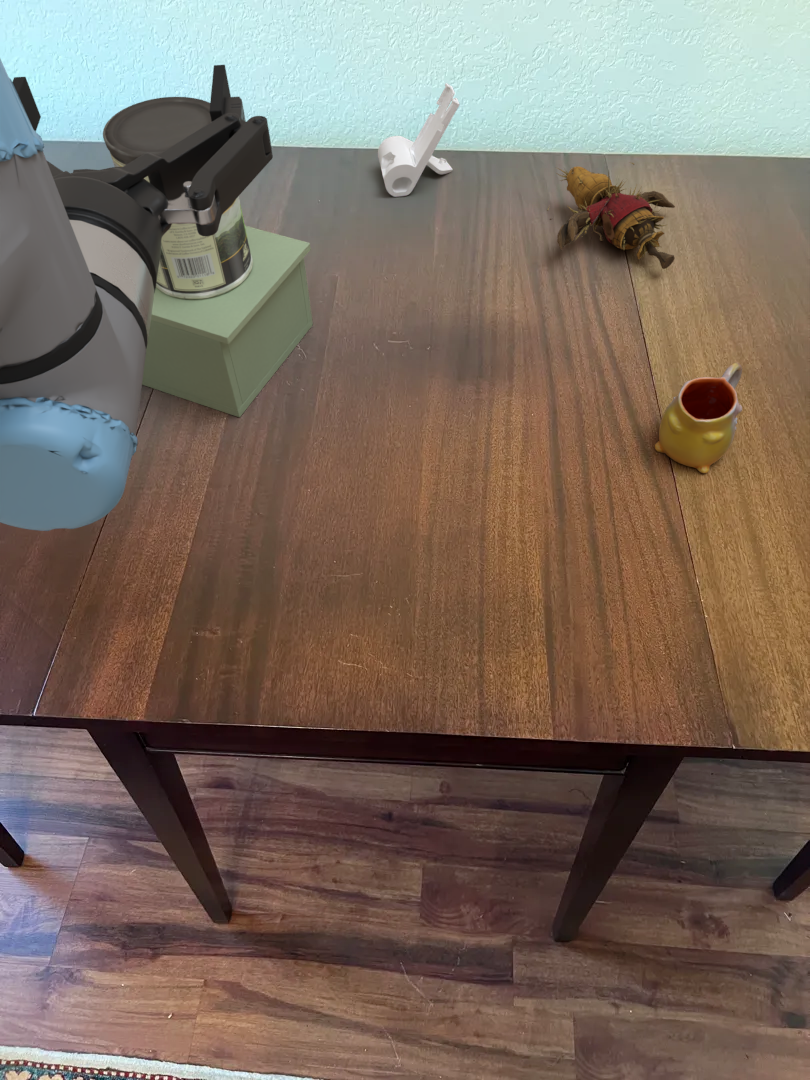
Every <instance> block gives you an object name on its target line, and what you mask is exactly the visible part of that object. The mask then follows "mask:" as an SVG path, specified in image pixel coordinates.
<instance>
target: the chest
mask: <svg viewBox="0 0 810 1080" xmlns="http://www.w3.org/2000/svg"><path fill="white" fill-rule="evenodd" d="M309 292H310V291H309V285H308V278H307V270H306V265H305V257H304V258H303V259H302V260H301V261H300V263H299V264H298V265H297V266H296V267H295V268H294V270H293V271H292V272H291V273H290V274H289V275H288V277H287V278H286V279H285V280H284V281H283V282H282V283H281V285H280V286H279V287H278V288H277V289H276V290H275V292H274V293H273V294H272V295H271V296H270V297H269V298H268V300H267V301H266V302H265V303H264V304H263V305H262V307H261V308H260V309H259V310H258V311H257V312H256V313H255V315H254V316H253V317H252V318H251V319H250V320H249V322H248V323H247V324H246V325H245V326H244V327H243V328H242V330H241V331H240V332H239V333H238V334H237V335H236V337H235V338H234V339H233V340H232V341H231V342H230V343H229V344H226V343H223V342H220V341H217V340H213V339H210V338H207V337H204V336H201V335H198V334H194V333H191V332H188V331H185V330H182V329H178V328H175V327H172V326H169V325H166V324H162V323H159V322H156V321H153V320H151V323H150V330H149V337H148V344H147V348H146V357H145V365H144V373H143V381H142V386H145V387H147V388H151V389H154V390H156V391H160V392H163V393H166V394H168V395H171V396H174V397H177V398H180V399H183V400H186V401H189V402H192V403H195V404H198V405H201V406H205V407H208V408H211V409H213V410H215V411H219V412H222V413H224V414H227V415H231V416H234V417H237V418H241V417H242V415H243V414H244V413H245V412H246V411H247V409H248V408H249V407H250V406H251V404H252V403H253V401H254V400H255V399H256V398H257V396H258V395H259V394H260V393H261V391H262V390H263V389H264V388H265V386H266V385H267V384H268V382H269V381H270V380H271V379H272V377H273V376H274V375H275V374H276V372H277V371H278V370H279V369H280V367H281V366H282V365H283V364H284V362H285V361H286V360H287V359H288V357H289V356H290V354H291V353H292V352H293V351H294V350H295V349H296V347H297V346H298V345H299V343H300V342H301V341H302V339H303V338H304V337H305V336H306V335H307V333H308V332H309V331H310V330H311V328H312V327H313V325H314V323H313V315H312V308H311V307H312V306H311V300H310V293H309Z"/></svg>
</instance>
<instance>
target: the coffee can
mask: <svg viewBox="0 0 810 1080" xmlns="http://www.w3.org/2000/svg"><path fill="white" fill-rule="evenodd" d="M211 122H212V121H211V116H210V101H207V100H204V99H200V98H195V97H189V96H165V97H156V98H151V99H147V100H143V101H141V102H140V101H139V102H137V103H134V104H132V105H129V106H127V107H125V108H123V109H121V110H120V111H118V112H117V113H115V114H114V115H113V116H111V117H110V118H109V119H108V121H107V122H106V123H105V125H104V127H103V131H102V137H103V138H102V139H103V141H104V144H105V146H106V148H107V150H108V152H109V154H110V157H111V160H112V163H113V167H123V166H125V165H127V164H128V163H130V162H132V161H133V160H135V159H136V158H138V157H140V156H141V155H143V154H145V153H151V154H153V155H156V156H157V155H159V154H160V153H162V152H164V151H165V150H167V149H168V148H170V147H172V146H173V145H175V144H177V143H178V142H180V141H181V140H183V139H185V138H186V137H188V136H190V135H191V134H193V133H194V132H196V131H198V130H199V129H201V128H203V127H204V126H206V125H207V124H209V123H211ZM144 179H145V180H146V181H148V182H149V183H150V181H149V178H148V176H147V177H145V178H144ZM245 226H246V224H245V219H244V216H243V210H242V206H241V200H240V195H239V196H238V197H237V198H236V200H235V201H234V202H233V203H232V204H231V205H230V206H229V207H228V208H227V210H226V211H225V212H224V213H223V214H222V216H221V220H220V224H219V228H218V231H217V233H215V234H214V235H211V236H201V235H199V233H198V231H197V227H196V224H172V225H171V227H170V229H169V230H168V231H167V232H166V233H165V234H164V235H163V236H162V239H161V254H160V261H159V268H158V276H157V283H156V288H158V289H159V290H160V291H162V292H164V293H165V294H167V295H169V296H173V297H176V298H181V299H205V298H210V297H214V296H218V295H221V294H224V293H226V292H228V291H230V290H232V289H234V288H236V287H237V286H238V285H240V284H241V283H242V282H243V281H244V280H245V279H246V278H247V277H248V275H249V274H250V272H251V270H252V266H253V258H252V255H251V253H250V248H249V243H248V238H247V234H246V229H245Z"/></svg>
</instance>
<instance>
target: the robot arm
mask: <svg viewBox="0 0 810 1080" xmlns="http://www.w3.org/2000/svg"><path fill="white" fill-rule="evenodd" d="M226 68H227V67H226V64H214V65H213V71H212V81H211V90H210V91H211V92H210V101H209V103H210V116H211V121H212V122H211V123H209V124H207V125H206V126H204V127H203V128H201V129H199V130H198V131H196V132H194V133H193V134H191V135H190V136H188V137H186V138H185V139H183V140H181V141H180V142H178V143H177V144H175V145H173V146H172V147H170V148H168V149H167V150H165V151H164V152H162V153H160V154H159V155H157V156H156V155H153V154H151V153H145V154H143V155H141V156H140V157H138V158H136V159H135V160H133V161H132V162H130V163H128V164H127V165H125V166H123V167H115V166H113V167H107V168H102V169H91V168H84V169H83V168H80V169H73V170H72V172H69V171H68V170H65V171H63V170H61V169H60V168H58V167H57V166H56V165H54V164H52V163H51V162H50V161H49V160H47V159H46V156H45V153H44V148H45V144H44V141H43V138H42V136H41V134H39V133H38V132H37V130H38V126H39V124H40V121H41V118H42V115H41V113H40V110H39V108H38V106H37V103H36V100H35V97H34V95H33V92H32V90H31V87H30V85H29V82H28V80H27V77H26V76H14V77H13V79H11V78H10V76H9V75H8V72H7V70H6V67H5V66H4V63H3V61H2V59H1V58H0V523H1V524H4V525H7V526H10V527H15V528H19V529H24V530H30V531H40V532H43V531H44V532H50V531H52V530H58V529H68V530H74V529H79V528H82V527H85V526H89V525H91V524H93V523H95V522H97V521H100V520H101V519H103V518H104V517H106V516H107V515H108V514H109V513H111V512H112V511H113V509H115V508H116V506H117V505H118V504H119V502H120V501H121V499H122V497H123V495H124V493H125V489H126V485H127V480H128V475H129V471H130V466H131V462H132V458H133V456H134V455H135V453H137V446H138V444H139V443H138V442H139V441H138V437H137V427H138V421H139V420H138V419H139V414H140V413H139V411H140V404H141V403H140V402H141V396H142V389H143V385H142V381H143V373H144V365H145V357H146V348H147V344H148V337H149V330H150V323H151V315H152V308H153V300H154V293H155V289H156V283H157V276H158V268H159V261H160V254H161V239H162V236H163V235H164V234H165V233H166V232H167V231H168V230H169V229H170V227H171V225H172V224H196V227H197V231H198V233H199V235H201V236H211V235H214V234H215V233H217V231H218V228H219V224H220V220H221V216H222V214H223V213H224V212H225V211H226V210H227V208H228V207H229V206H230V205H231V204H232V203H233V202H234V201H235V200H236V198H237V197H238V196H239V197H240V195H241V194H242V193H243V192H244V190H246V189H247V187H248V186H249V185H250V184H251V183H252V182H253V181H254V180H255V178H257V176H258V175H260V173H261V172H262V171H263V170H264V169H265V167H267V165H268V164H269V163H270V162H271V161H272V160H273V157H274V156H273V148H272V142H271V135H270V129H269V125H268V123H269V122H268V118H267V117H266V116H264V115H255V116H252V117H250V118H249V119H248V120H247V119H246V116H245V109H244V104H243V99H242V98H241V97H240V96H232V95H231V90H230V85H229V79H228V75H227V69H226ZM246 120H247V121H246ZM147 176H148V178H149V181H150V183H149V182H148V181H146V180H145V179H144V178H145V177H147Z"/></svg>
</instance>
